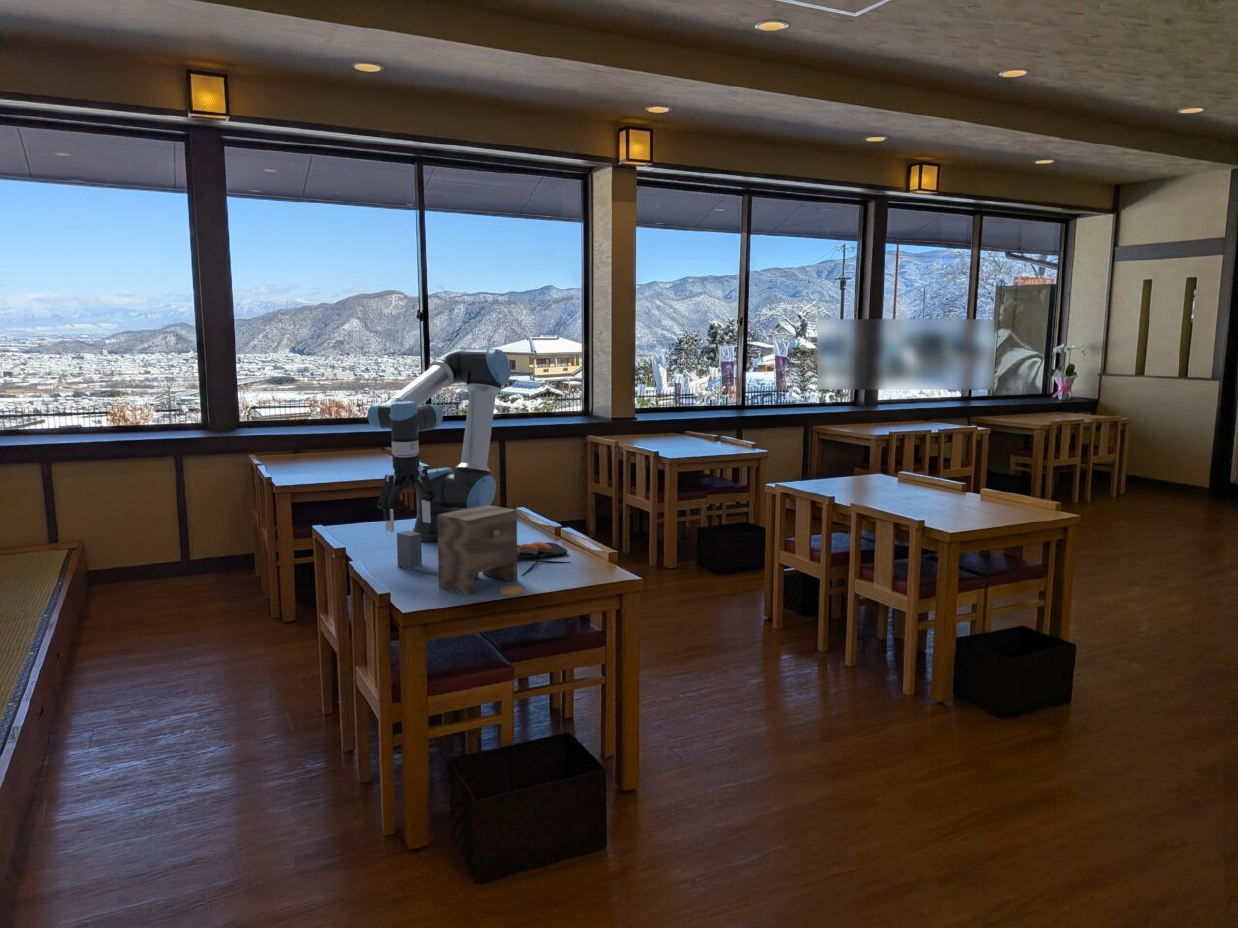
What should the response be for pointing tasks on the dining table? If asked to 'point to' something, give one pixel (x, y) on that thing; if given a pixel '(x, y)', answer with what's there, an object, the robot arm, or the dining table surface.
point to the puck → (511, 590)
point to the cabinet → (476, 546)
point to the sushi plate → (539, 552)
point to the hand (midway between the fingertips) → (408, 526)
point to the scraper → (413, 553)
